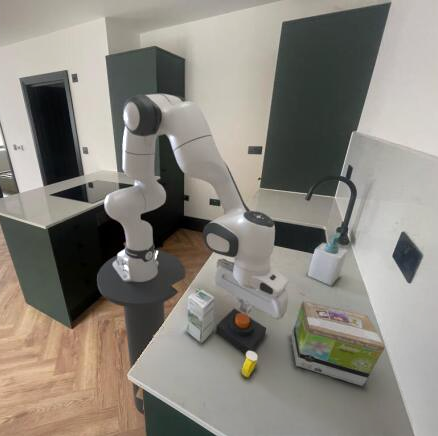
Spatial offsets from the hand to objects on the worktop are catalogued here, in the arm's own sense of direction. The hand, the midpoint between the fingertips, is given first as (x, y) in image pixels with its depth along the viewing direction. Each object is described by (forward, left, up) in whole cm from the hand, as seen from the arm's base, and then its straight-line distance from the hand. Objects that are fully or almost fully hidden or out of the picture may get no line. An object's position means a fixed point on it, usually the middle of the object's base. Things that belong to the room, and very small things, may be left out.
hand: (244, 310), depth 67 cm
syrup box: (-9, -9, -10) cm, 16 cm away
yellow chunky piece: (+7, -9, -10) cm, 15 cm away
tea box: (+20, +9, -10) cm, 24 cm away
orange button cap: (0, 0, -5) cm, 5 cm away
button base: (0, 0, -10) cm, 10 cm away
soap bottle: (+9, +50, -10) cm, 52 cm away
